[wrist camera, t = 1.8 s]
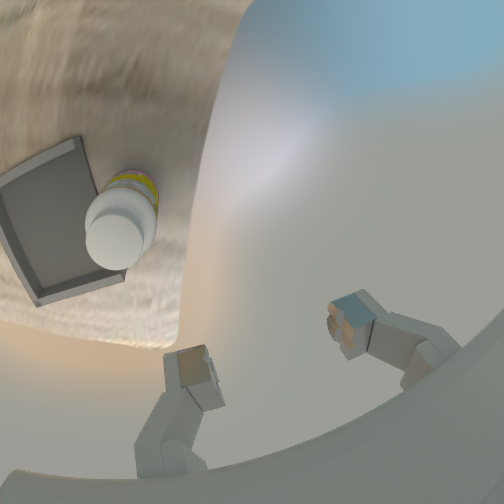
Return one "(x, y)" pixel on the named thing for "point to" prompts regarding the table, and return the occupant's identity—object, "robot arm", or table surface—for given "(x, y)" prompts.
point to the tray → (51, 225)
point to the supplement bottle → (122, 220)
